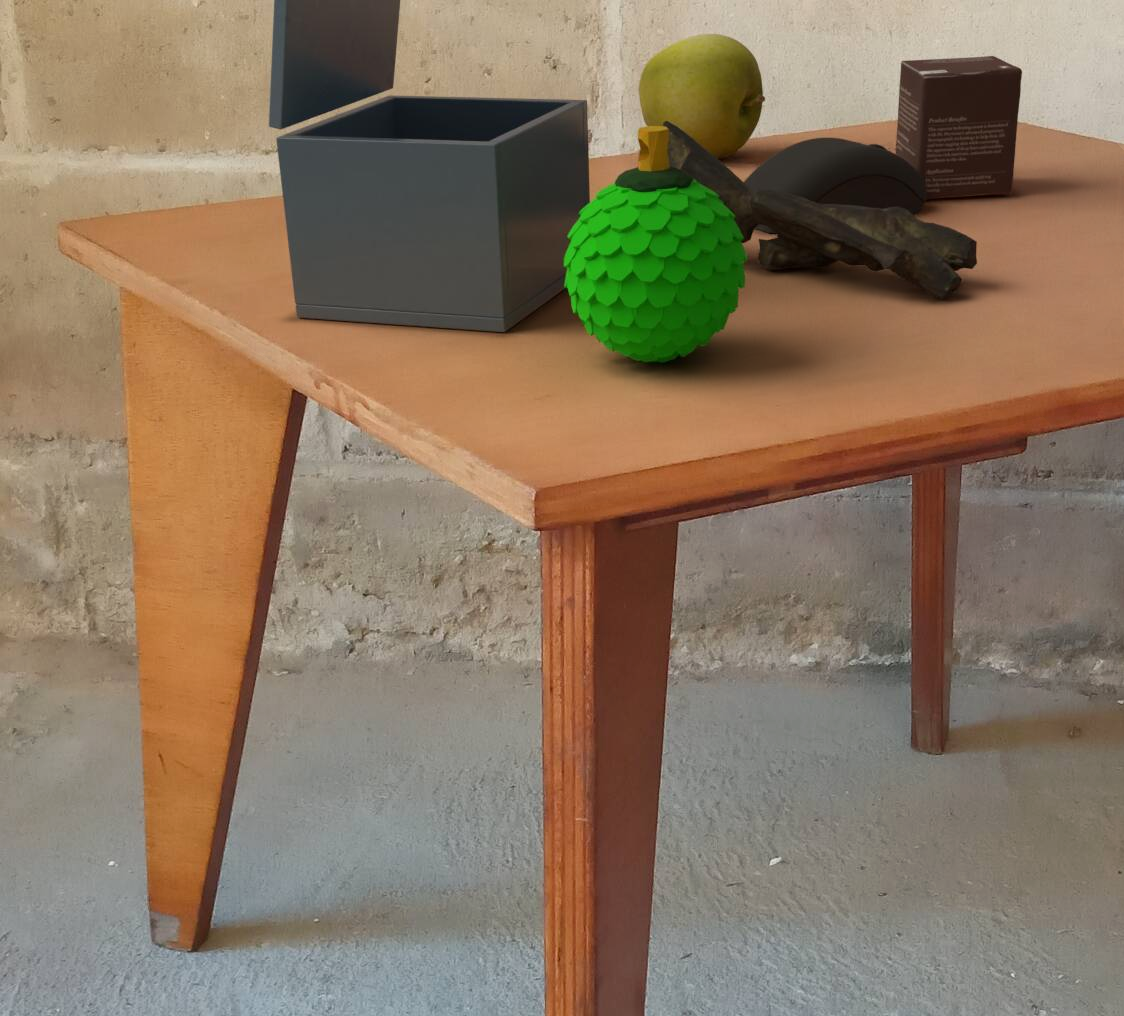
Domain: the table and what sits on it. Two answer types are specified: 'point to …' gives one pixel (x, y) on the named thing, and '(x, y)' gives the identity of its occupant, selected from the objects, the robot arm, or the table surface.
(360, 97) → the lid
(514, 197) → the compartment
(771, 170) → the computer mouse
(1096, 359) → the table surface
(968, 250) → the statue
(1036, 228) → the table surface
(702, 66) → the apple
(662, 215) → the ornament
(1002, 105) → the box
